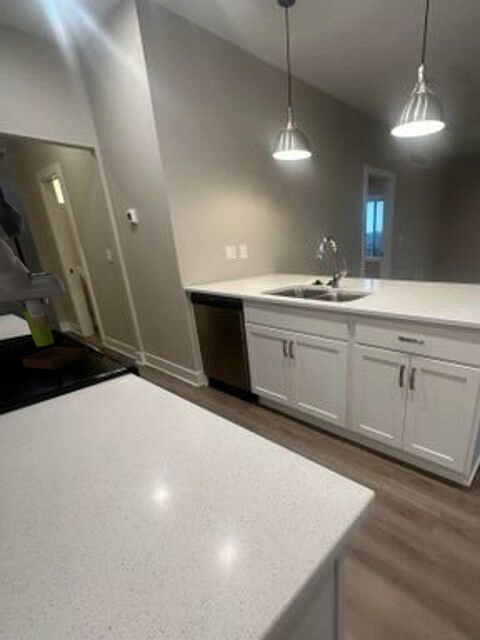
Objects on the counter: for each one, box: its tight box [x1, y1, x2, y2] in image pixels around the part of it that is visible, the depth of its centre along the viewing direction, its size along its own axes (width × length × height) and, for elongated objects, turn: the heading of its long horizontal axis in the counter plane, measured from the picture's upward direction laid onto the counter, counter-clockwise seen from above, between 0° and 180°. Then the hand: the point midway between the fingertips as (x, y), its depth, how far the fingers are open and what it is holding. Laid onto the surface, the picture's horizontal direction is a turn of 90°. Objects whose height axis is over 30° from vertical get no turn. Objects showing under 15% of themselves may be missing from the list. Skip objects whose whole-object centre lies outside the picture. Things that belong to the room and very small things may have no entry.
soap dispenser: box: [22, 306, 55, 347], centre depth 125 cm, size 6×7×20 cm
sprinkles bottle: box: [24, 298, 52, 328], centre depth 105 cm, size 5×5×13 cm
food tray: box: [21, 346, 85, 371], centre depth 111 cm, size 12×11×3 cm
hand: (35, 303), depth 106 cm, fingers closed on sprinkles bottle, 4 cm apart
